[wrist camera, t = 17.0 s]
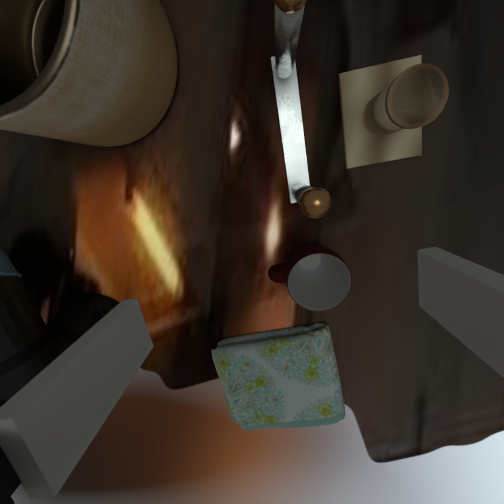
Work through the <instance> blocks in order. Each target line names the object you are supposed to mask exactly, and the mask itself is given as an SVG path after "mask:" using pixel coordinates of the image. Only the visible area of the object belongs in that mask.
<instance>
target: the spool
mask: <svg viewBox="0 0 504 504" xmlns="http://www.w3.org/2000/svg"><path fill="white" fill-rule="evenodd" d="M448 92H449V88H448V82H447V78H446V76H445V75H444V73H443V72H442V71H441V70H440V69H439V68H438V67H436V66H434V65H431V64H417V65H413V66H411V67H409V68H407V69H406V70H404V71H403V72H402V73H401V74H399V75H398V76H397V77H396V78H395V79H394V80H393V82H392V83H391V85H389V86H388V87H387V88H385V89H384V90H383V91H381V92H380V93H379V94H377V95H376V96H374V97H373V98H372V99H371V100H370V101H369V102H368V103H367V105H366V106H365V108H364V111H363V124H364V127H365V128H366V130H367V131H368V132H369V133H371V134H372V135H375V136H384V135H388V134H391V133H394V132H397V131H400V130H403V129H415V128H419V127H422V126H424V125H427V124H428V123H430V122H432V121H433V120H434V119H435V118H436V117H437V116H438V115H439V114H440V113H441V111H442V110H443V108H444V106H445V104H446V101H447V98H448Z"/></svg>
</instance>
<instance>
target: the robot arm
mask: <svg viewBox="0 0 504 504" xmlns="http://www.w3.org/2000/svg"><path fill="white" fill-rule="evenodd" d="M418 276H419V304H420V307H421V308H422V309H423V310H425V311H426V312H427V313H428V314H429V315H430V316H432V317H433V318H434V319H435V320H436V321H438V322H439V323H440V324H441V325H442V326H443V327H445V328H446V329H447V330H448V331H449V332H451V333H452V334H453V335H454V336H455V337H456V338H458V339H459V340H460V341H461V342H462V343H463V344H465V345H466V346H467V347H468V348H469V349H471V350H472V351H473V352H474V353H475V354H476V355H478V356H479V357H480V358H481V359H482V360H483V361H485V362H486V363H487V364H488V365H489V366H491V367H492V368H493V369H494V370H495V371H496V372H498V373H499V374H500V375H501V376H502V377H504V275H502V274H499V273H497V272H494V271H492V270H490V269H487V268H485V267H483V266H480V265H478V264H475V263H473V262H471V261H468V260H466V259H464V258H461V257H459V256H456V255H454V254H452V253H449V252H447V251H444V250H442V249H440V248H437V247H433V248H427V249H421V250H418ZM21 278H22V275H21V274H20V273H18V272H17V271H16V269H15V268H14V266H13V264H12V263H11V261H10V259H9V258H8V256H7V255H6V254H5V253H4V252H3V251H2V250H0V504H14V501H13V500H12V498H11V495H12V494H13V493H14V491H15V490H16V489H17V487H18V486H19V485H20V484H22V486H23V487H24V489H25V491H26V492H27V494H28V495H29V497H30V499H32V498H43V497H55V496H56V495H57V493H58V492H59V490H60V489H61V487H62V485H63V484H64V482H65V481H66V479H67V478H68V476H69V475H70V473H71V472H72V470H73V469H74V467H75V466H76V464H77V462H78V461H79V460H80V458H81V456H82V455H83V453H84V452H85V450H86V449H87V447H88V446H89V444H90V443H91V441H92V440H93V438H94V437H95V435H96V434H97V432H98V431H99V429H100V428H101V426H102V424H103V423H104V421H105V420H106V418H107V417H108V415H109V414H110V412H111V410H112V409H113V407H114V406H115V404H116V403H117V402H118V400H119V398H120V397H121V395H122V394H123V392H124V391H125V389H126V387H127V386H128V385H129V383H130V382H131V380H132V379H133V377H134V376H135V374H136V373H137V371H138V369H139V368H140V366H141V365H142V363H143V362H144V360H145V359H146V357H147V356H148V354H149V353H150V351H151V350H152V348H153V347H154V346H153V343H152V340H151V337H150V334H149V331H148V329H147V326H146V323H145V320H144V317H143V314H142V311H141V309H140V306H139V303H138V300H137V298H135V299H129V300H124V301H121V302H120V303H119V302H117V301H116V300H114V299H112V298H110V297H107V296H105V295H101V294H94V293H88V294H82V295H79V296H76V297H74V298H73V299H71V300H70V301H68V302H66V303H65V304H64V305H62V306H61V307H60V308H59V309H58V311H57V312H56V314H55V315H54V316H53V317H52V319H51V320H50V321H49V323H48V324H47V325H45V323H44V321H43V319H42V317H41V315H40V313H39V311H38V309H37V307H36V305H35V304H34V302H33V300H32V298H31V296H30V294H29V292H28V290H27V288H26V286H25V284H24V283H23V281H22V279H21Z"/></svg>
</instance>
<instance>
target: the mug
mask: <svg viewBox="0 0 504 504" xmlns="http://www.w3.org/2000/svg"><path fill="white" fill-rule="evenodd" d="M283 271H286V272H285V273H280V272H283ZM268 276H269V278H270V279H271V280H272V281H274V282H277V283H287V287H288V291H289V294H290V296H291V297H292V299H293V300H294V301H295V302H296V303H297V304H298V305H299V306H301V307H303V308H305V309H307V310H311V311H326V310H330V309H332V308H334V307H336V306H338V305H339V304H341V303H342V302H343V301H344V300H345V298H346V297H347V296H348V294H349V292H350V289H351V284H352V278H351V273H350V270H349V268H348V266H347V265H346V263H345V262H344V261H343V259H342V258H341V257H340V256H339V255H338V254H337V253H335V252H334V251H332V250H331V249H328V248H326V247H324V246H322V245H319V244H306V245H303V246H301V247H300V248H298V249H297V250H296V251H295V252H294V253H293V255H292V257H291V259H290V262H289V263H282V264H276V265H273V266H271V267H270V268H269V270H268Z"/></svg>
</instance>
